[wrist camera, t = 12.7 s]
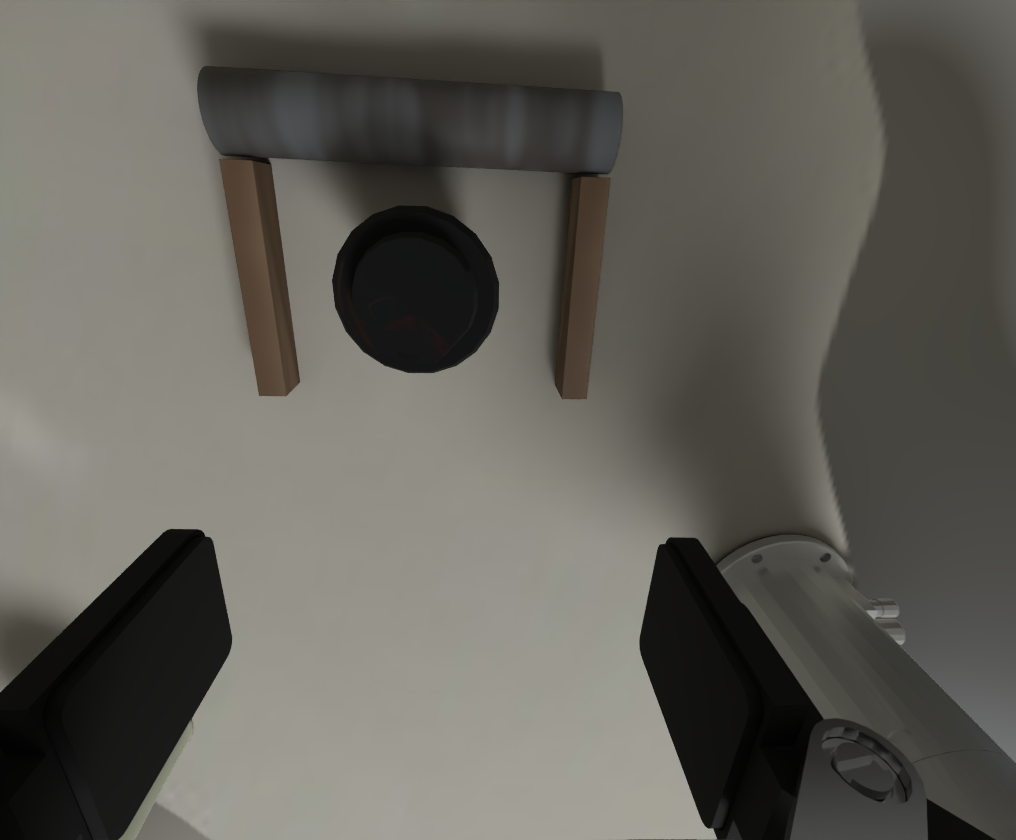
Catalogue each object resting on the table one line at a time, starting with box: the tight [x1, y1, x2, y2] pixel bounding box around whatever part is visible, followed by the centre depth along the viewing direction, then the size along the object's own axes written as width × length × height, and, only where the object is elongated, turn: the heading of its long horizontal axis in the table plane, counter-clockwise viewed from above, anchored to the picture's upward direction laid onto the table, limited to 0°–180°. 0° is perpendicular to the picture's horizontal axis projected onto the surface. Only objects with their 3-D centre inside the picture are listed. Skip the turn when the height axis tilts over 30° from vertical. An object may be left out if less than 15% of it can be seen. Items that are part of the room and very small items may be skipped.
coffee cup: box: [332, 206, 499, 373], centre depth 24 cm, size 7×7×10 cm
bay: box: [197, 66, 623, 399], centre depth 27 cm, size 19×16×4 cm
